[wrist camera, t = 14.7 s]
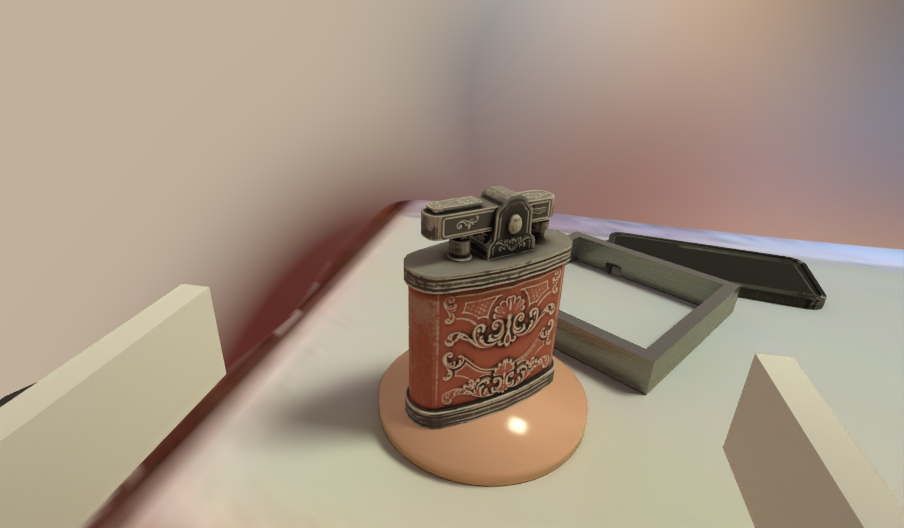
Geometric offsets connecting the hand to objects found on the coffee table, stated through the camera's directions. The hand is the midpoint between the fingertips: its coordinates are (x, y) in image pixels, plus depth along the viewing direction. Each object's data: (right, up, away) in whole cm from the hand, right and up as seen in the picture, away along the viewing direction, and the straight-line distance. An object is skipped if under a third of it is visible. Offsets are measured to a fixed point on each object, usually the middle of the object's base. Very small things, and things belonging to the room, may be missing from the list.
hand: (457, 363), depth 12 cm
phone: (+20, +1, +28) cm, 34 cm away
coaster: (+1, -4, +13) cm, 13 cm away
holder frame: (+10, 0, +22) cm, 24 cm away
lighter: (+1, -4, +12) cm, 13 cm away
